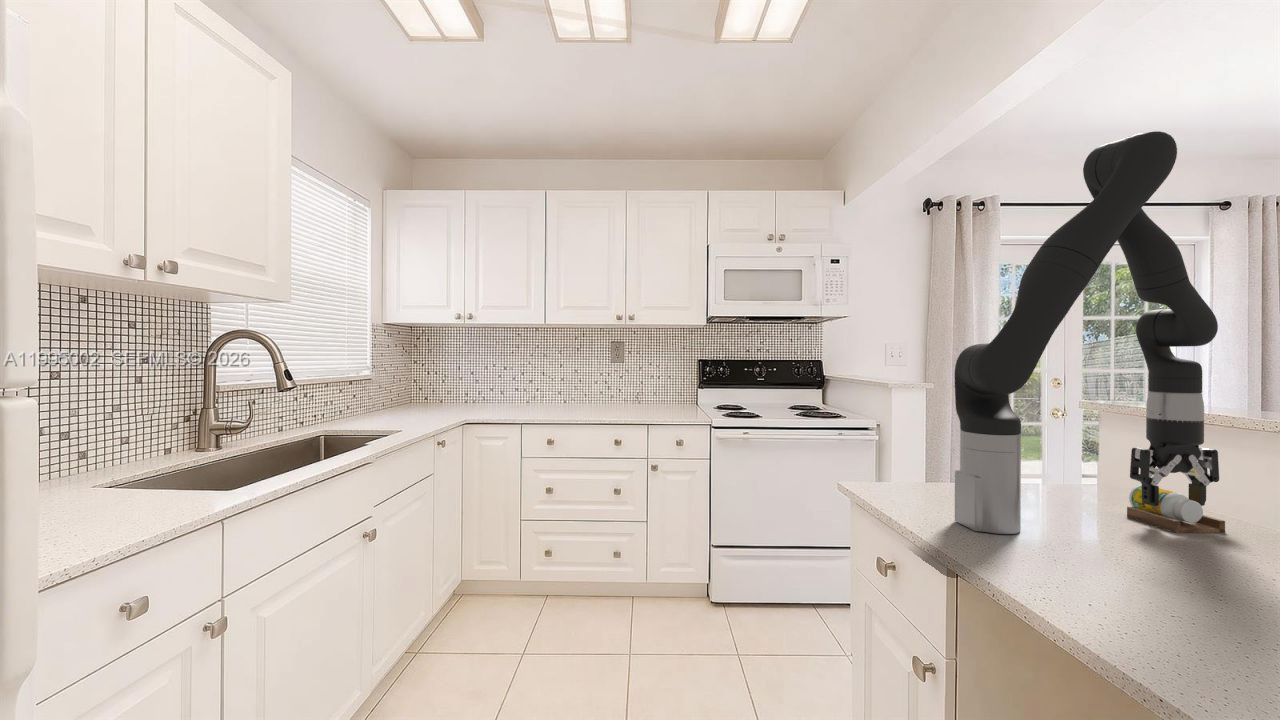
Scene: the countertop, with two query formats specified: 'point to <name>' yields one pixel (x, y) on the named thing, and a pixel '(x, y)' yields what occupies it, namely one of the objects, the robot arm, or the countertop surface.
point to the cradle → (1176, 522)
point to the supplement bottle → (1169, 505)
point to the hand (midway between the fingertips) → (1173, 504)
